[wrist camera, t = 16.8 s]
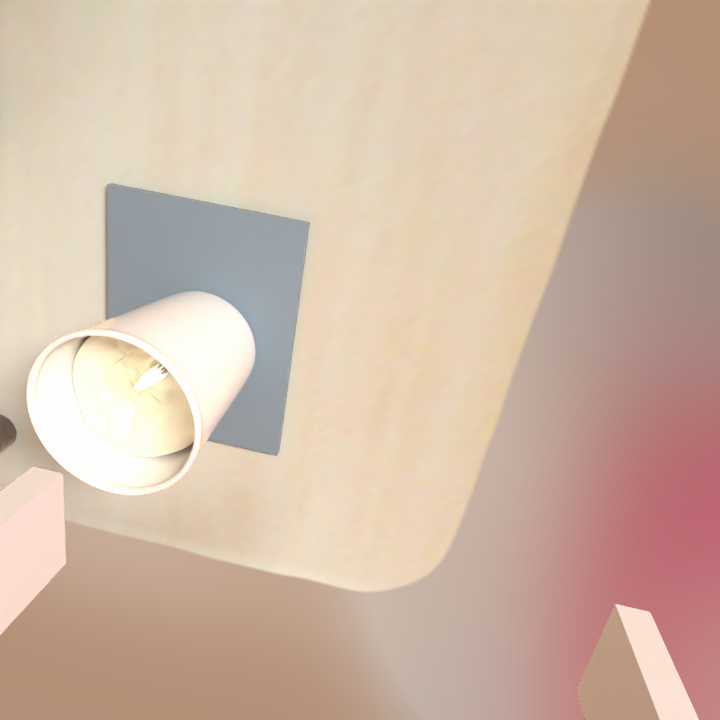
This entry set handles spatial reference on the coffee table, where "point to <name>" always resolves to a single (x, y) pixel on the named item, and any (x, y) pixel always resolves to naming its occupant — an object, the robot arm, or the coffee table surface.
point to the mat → (215, 286)
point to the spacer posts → (6, 433)
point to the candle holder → (140, 391)
